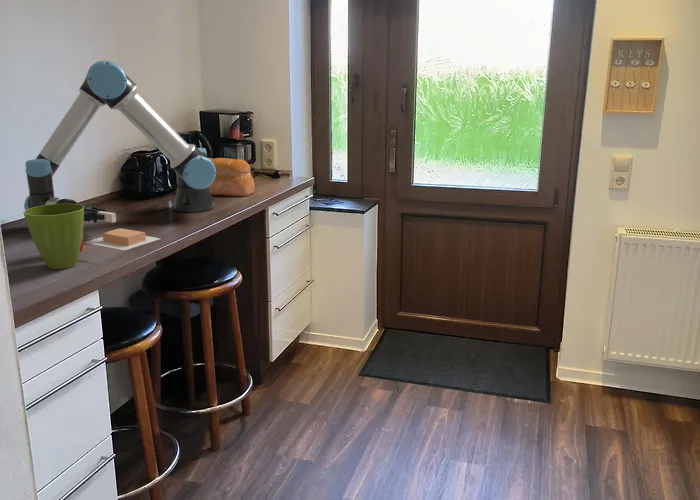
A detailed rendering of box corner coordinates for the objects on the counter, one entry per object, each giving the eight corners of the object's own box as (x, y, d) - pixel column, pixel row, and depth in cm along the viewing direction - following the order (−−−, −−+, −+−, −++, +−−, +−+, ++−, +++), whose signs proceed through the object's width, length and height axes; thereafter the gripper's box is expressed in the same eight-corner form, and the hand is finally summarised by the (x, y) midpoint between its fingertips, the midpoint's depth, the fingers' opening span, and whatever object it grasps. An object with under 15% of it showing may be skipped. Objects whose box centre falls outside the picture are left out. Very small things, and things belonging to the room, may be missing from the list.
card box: (120, 228, 205) (145, 232, 200) (120, 236, 205) (146, 240, 200) (102, 233, 199) (128, 237, 194) (103, 241, 200) (128, 245, 195)
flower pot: (26, 276, 169) (17, 216, 164) (37, 259, 183) (29, 204, 178) (87, 271, 173) (80, 213, 168) (93, 256, 186) (86, 202, 182)
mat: (120, 233, 211) (120, 231, 211) (161, 240, 203) (161, 238, 203) (83, 244, 198) (82, 242, 198) (124, 252, 190) (124, 250, 190)
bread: (246, 198, 267) (244, 161, 263) (189, 194, 273) (186, 159, 269) (258, 192, 280) (257, 157, 276) (203, 189, 286) (201, 155, 282)
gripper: (80, 217, 217) (131, 225, 206) (47, 225, 206) (98, 234, 195) (78, 195, 215) (128, 202, 204) (44, 202, 204) (95, 210, 193)
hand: (113, 218), depth 200 cm, fingers closed
